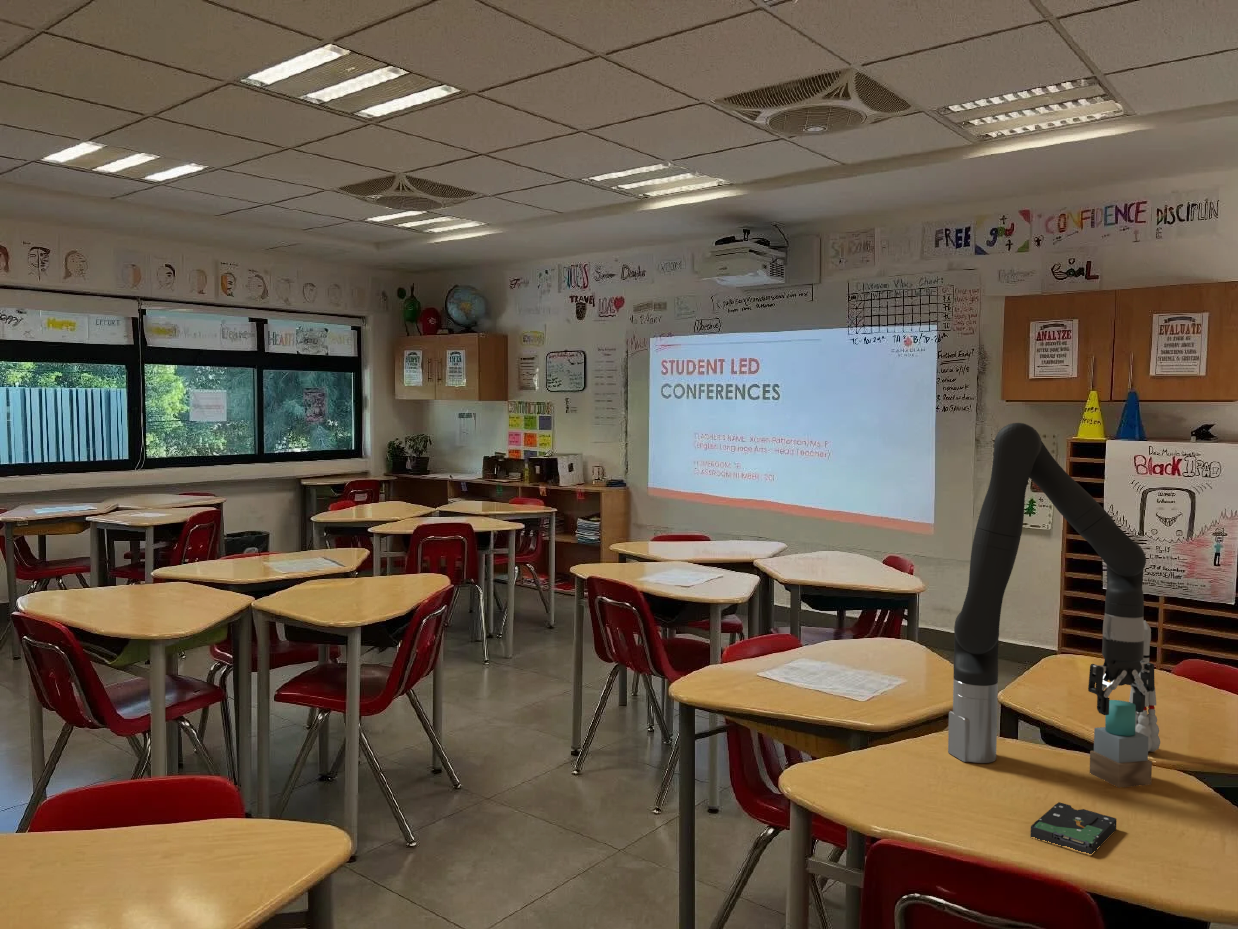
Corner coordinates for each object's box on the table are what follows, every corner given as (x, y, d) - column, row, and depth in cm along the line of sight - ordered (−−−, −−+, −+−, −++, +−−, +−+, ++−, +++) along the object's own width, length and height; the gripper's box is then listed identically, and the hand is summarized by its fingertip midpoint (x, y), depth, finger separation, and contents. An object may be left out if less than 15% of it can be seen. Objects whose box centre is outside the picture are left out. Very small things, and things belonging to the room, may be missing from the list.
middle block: (1118, 763, 183) (1119, 739, 182) (1093, 751, 189) (1094, 728, 189) (1147, 760, 184) (1148, 736, 184) (1122, 748, 191) (1122, 725, 191)
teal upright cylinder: (1118, 736, 183) (1119, 707, 183) (1099, 728, 189) (1099, 700, 189) (1141, 735, 184) (1141, 706, 184) (1121, 727, 190) (1121, 699, 190)
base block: (1118, 788, 182) (1119, 764, 182) (1089, 774, 190) (1090, 751, 190) (1151, 785, 184) (1151, 761, 184) (1121, 771, 192) (1121, 748, 191)
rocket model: (1157, 747, 205) (1161, 618, 204) (1162, 758, 199) (1166, 625, 197) (1121, 743, 208) (1124, 616, 207) (1124, 753, 202) (1128, 622, 200)
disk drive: (1056, 815, 170) (1029, 840, 159) (1057, 801, 170) (1029, 825, 159) (1116, 833, 163) (1092, 860, 152) (1117, 817, 163) (1093, 844, 152)
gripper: (1137, 630, 191) (1135, 705, 191) (1080, 633, 188) (1078, 709, 188) (1166, 638, 183) (1163, 716, 184) (1108, 641, 180) (1105, 720, 181)
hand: (1120, 712), depth 186 cm, fingers open, 8 cm apart
